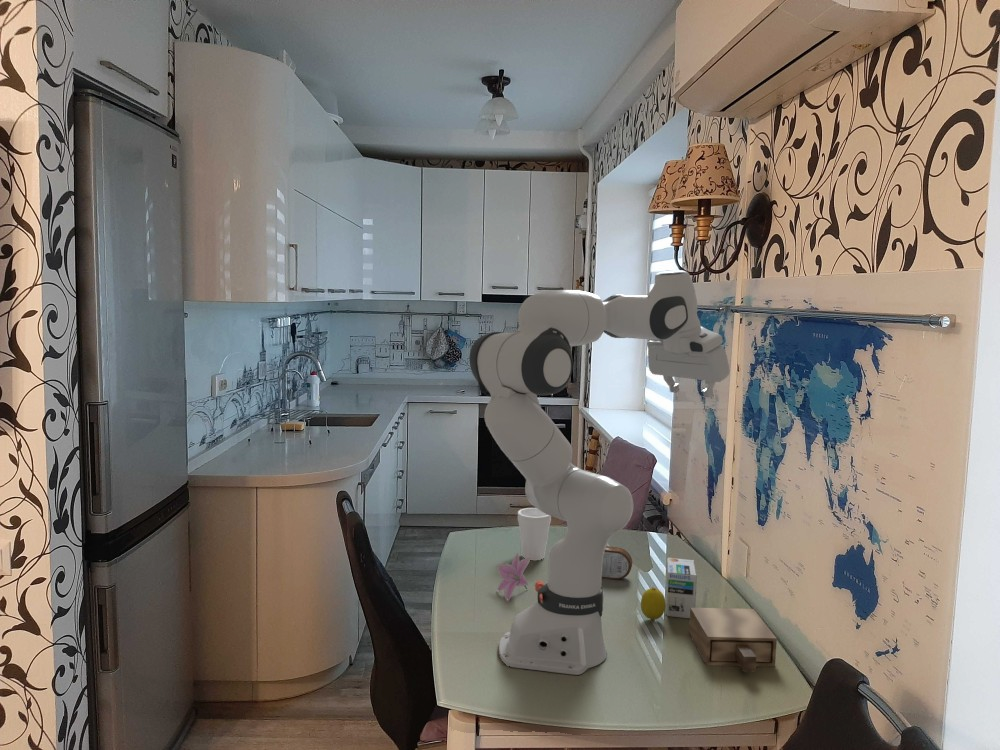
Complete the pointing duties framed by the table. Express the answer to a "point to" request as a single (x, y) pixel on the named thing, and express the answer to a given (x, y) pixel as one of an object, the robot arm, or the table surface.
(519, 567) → the lily
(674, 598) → the light bulb box
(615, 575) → the tin
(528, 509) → the foam cup
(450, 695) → the table surface
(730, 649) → the tray
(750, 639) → the sleeve
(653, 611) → the lemon
